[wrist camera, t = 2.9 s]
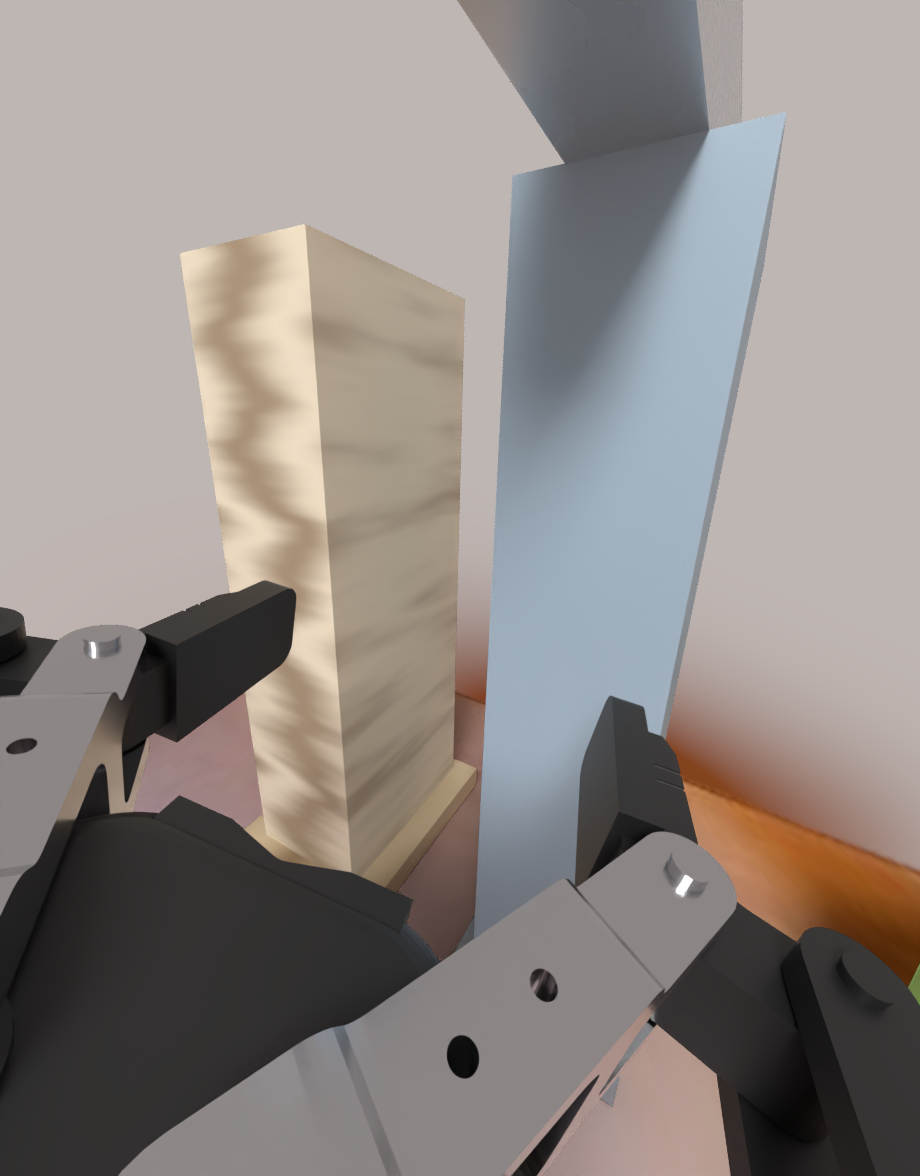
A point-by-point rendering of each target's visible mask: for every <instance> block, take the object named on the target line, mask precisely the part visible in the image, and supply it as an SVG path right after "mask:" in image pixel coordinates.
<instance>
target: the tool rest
mask: <svg viewBox="0 0 920 1176" xmlns="http://www.w3.org/2000/svg"><path fill="white" fill-rule="evenodd" d="M180 259H181V265H182V272H183V279H184V285H185V292H186V299H187V306H188V312H189V318H190V326H191V332H192V339H193V346H194V353H195V359H196V366H197V373H198V379H199V386H200V393H201V400H202V406H203V413H204V420H205V426H206V433H207V440H208V446H209V453H210V459H211V467H212V473H213V480H214V487H215V494H216V500H217V507H218V514H219V521H220V527H221V534H222V541H223V547H224V554H225V561H226V566H227V567H226V568H227V574H228V581H229V588H230V593H233V592H238V591H240V590H243V589H245V588H247V587H249V586H252V585H254V584H256V583H258V582H261V581H263V580H267V581H270V582H273V583H276V584H279V585H282V586H285V587H288V588H291V589H293V590H294V591H295V593H296V610H295V620H294V630H293V640H292V646H291V650H290V652H289V655H288V657H287V658H286V660H285V661H284V663H283V664H282V665H281V666H280V667H278V668H277V669H276V670H274V671H273V672H271V673H270V674H269V675H267V676H266V677H265V678H263V679H262V680H261V681H259V682H258V683H257V684H255V685H254V686H253V687H251V688H250V689H249V690H247V691H246V692H245V695H246V702H247V709H248V715H249V722H250V729H251V736H252V742H253V749H254V756H255V762H256V769H257V776H258V783H259V789H260V796H261V803H262V809H263V814H262V815H261V816H260V817H258V818H257V819H256V820H255V821H254V822H252V823H251V824H250V825H249V826H247V827H246V828H245V829H244V830H245V831H246V832H248V833H249V834H250V835H251V836H252V837H253V838H254V839H255V840H257V841H258V842H259V843H260V844H261V845H262V846H263V847H265V848H266V849H267V850H268V851H269V852H270V853H271V854H273V855H274V856H275V857H276V858H278V859H280V860H283V861H287V862H292V863H298V864H304V865H310V866H316V867H322V868H328V869H334V870H340V871H346V872H352V873H354V874H356V875H358V876H361V877H363V878H365V879H367V880H369V881H372V882H374V883H376V884H378V885H381V886H383V887H385V888H387V889H390V890H392V891H394V892H397V891H398V889H399V888H400V887H401V885H402V884H403V883H404V881H405V880H406V879H407V877H408V876H409V875H410V873H411V872H412V871H413V869H414V868H415V866H416V865H417V864H418V862H419V861H420V860H421V858H422V857H423V856H424V854H425V853H426V852H427V850H428V849H429V848H430V846H431V845H432V843H433V842H434V841H435V839H436V838H437V837H438V835H439V834H440V833H441V831H442V830H443V829H444V827H445V826H446V825H447V823H448V822H449V820H450V819H451V818H452V816H453V815H454V814H455V812H456V811H457V810H458V808H459V807H460V806H461V804H462V803H463V802H464V800H465V799H466V797H467V796H468V795H469V793H470V792H471V791H472V789H473V788H474V787H475V785H476V780H477V768H475V767H473V766H470V765H468V764H466V763H463V762H461V761H458V760H456V759H453V750H454V710H455V670H456V669H455V668H456V631H457V590H458V550H459V549H458V548H459V511H460V470H461V431H462V390H463V351H464V312H465V299H463V298H461V297H459V296H457V295H455V294H453V293H451V292H449V291H447V290H444V289H442V288H440V287H438V286H436V285H434V284H432V283H429V282H427V281H425V280H423V279H421V278H419V277H417V276H415V275H413V274H410V273H408V272H406V271H404V270H402V269H400V268H398V267H395V266H393V265H391V264H389V263H387V262H385V261H382V260H381V259H378V258H376V257H374V256H372V255H370V254H368V253H366V252H363V251H361V250H359V249H357V248H355V247H353V246H351V245H348V244H347V243H344V242H342V241H340V240H338V239H336V238H334V237H332V236H329V235H327V234H325V233H323V232H321V231H319V230H317V229H314V228H312V227H310V226H308V225H306V224H304V225H299V226H295V227H291V228H286V229H282V230H278V231H274V232H269V233H265V234H261V235H256V236H252V237H248V238H244V239H239V240H235V241H231V242H226V243H223V244H218V245H213V246H209V247H205V248H201V249H196V250H192V251H188V252H184V253H180Z"/></svg>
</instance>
